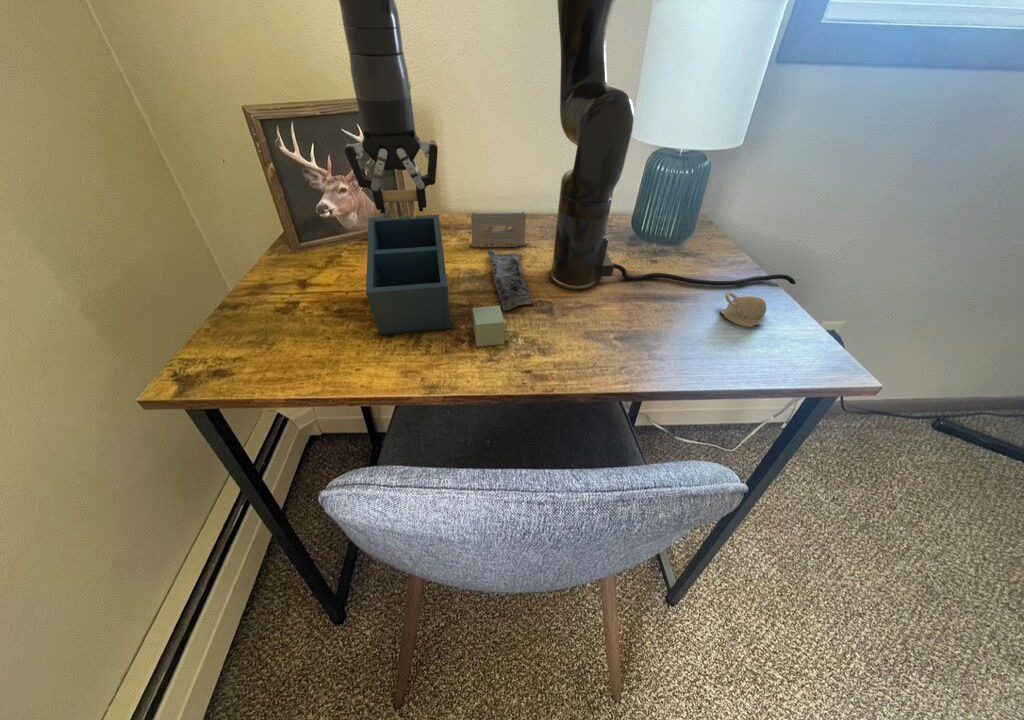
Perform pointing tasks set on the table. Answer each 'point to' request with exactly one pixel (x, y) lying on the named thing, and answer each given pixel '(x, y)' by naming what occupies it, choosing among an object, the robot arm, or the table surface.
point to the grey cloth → (509, 280)
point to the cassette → (498, 237)
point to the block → (488, 325)
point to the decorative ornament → (745, 309)
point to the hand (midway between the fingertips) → (402, 210)
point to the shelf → (406, 270)
